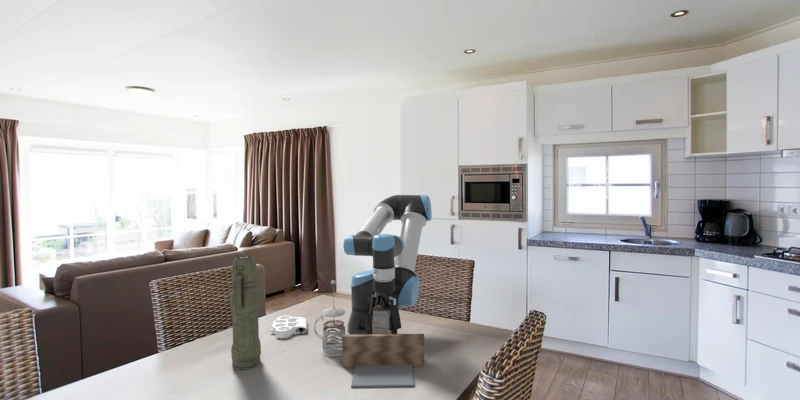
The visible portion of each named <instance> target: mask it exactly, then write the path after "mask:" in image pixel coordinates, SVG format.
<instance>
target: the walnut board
mask: <svg viewBox="0 0 800 400" xmlns="http://www.w3.org/2000/svg"><path fill="white" fill-rule="evenodd" d="M341 339H342V341H341V342H342V348H343V355H342V368H355V365H412V367H425V334H424V333H397V334H354V335H352V334H345V335H343V336H342V338H341Z"/></svg>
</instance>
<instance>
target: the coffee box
mask: <svg viewBox="0 0 800 400" xmlns="http://www.w3.org/2000/svg"><path fill="white" fill-rule="evenodd" d="M388 307H390V306H388ZM390 314H391V310H390V308H387V309H385V308H383V306H382V305H380V304H376V305H375V306H374V307H373V309H372V330H373V334H389V329H390V325H389V318H390Z"/></svg>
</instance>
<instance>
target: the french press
mask: <svg viewBox="0 0 800 400" xmlns="http://www.w3.org/2000/svg"><path fill="white" fill-rule="evenodd" d="M330 284H331V285H332V295H333V296H332V298H333V300H332V301H333V306H331V307H328V308H326V309H324V310H322V312H321V314H322V315H321V316H319V317H317V318H316V320H315V322H314V326H313V328H314V329H313V330H314V334H315V335H316V337H318V338H319V339H322V348H321V349H320V351H319V353H320V355H321V356H324V357H328V358H335V357H341V356H343V348H342V336H343V335H346V326H345V322H344V321H343V320H340V319H339V320H338V319H337V320H335V319H333V320H332V319H331V320H327V321H326V322H324V323H323V328H322V335H320V334H319V333H318V332H317V330H316V324H317V322H319V320H321V321H322V322H323V321H324V316H325V317H328V318H335V317H342V316H344V315H345V313H346V310H345V309H343V308H341V307H339V306H338V307H337V306H335V293H334V292H335V289H334V285H336V284H337V281H336V280H334V279H332V280H331V281H330Z"/></svg>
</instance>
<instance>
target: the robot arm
mask: <svg viewBox="0 0 800 400" xmlns="http://www.w3.org/2000/svg"><path fill="white" fill-rule="evenodd" d="M432 217H433V213H432V203H431V199H430V196H428V195H425V194H415V195H414V194H395V195H391V196H389V197H386V198H384V199H383V200H381V201H380V202H378V204H376V206H375V207H374V209H373V213H372V214H371V215H370V217H369V218H368V219H367V221H366V222H365V223H364V224H363V225H362V227H360V229H359V231H358V232H357V233H356V234H355V235H354V234H350V235H346V236H345V238H344V240H343V244H342V245H343V247H342V248H343V252H344V253H345V255H347V256H358V257H359V256H361V257H362V256H363V257H372V269H370V270H364V271H360V272H357V273H354V274H353V275H352V277H351V281H350V283H351V284H350V290H351V291H350V293H351V294H350V295H351V297H350V298H351V311H350V315H349V319H348V321H347V329H346V330H347V333H349V335H354V334H373V330H372V309H373V307H374V306H375V305H376V304H380V305H382V306H383V308H385V309H387V308H390V310H391V314H390V318H389V325H390V329H389V334H398V330H400V329H402V322H401V316H400V309H399V308H412V307H414V305H415V304H416V303H417V301H418V299H419V294H420V287H421V283H420V282H421V281H420V278H419V277H418V275H417V273H416V272H415V268H416V263H417V257H418V253H419V246H420V241H421V235H422V232H423V231H422V230H423V228H424V227H425V226H426V225H427V222H429V221H432ZM392 221H400V222H401V223H402V227H401V231H400V236H399V235H396V234H395V235H393V234H389V233H382V232H383V230H384V229H385V228H386V226H387V224H389V223H392ZM388 306H390V307H388Z"/></svg>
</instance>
